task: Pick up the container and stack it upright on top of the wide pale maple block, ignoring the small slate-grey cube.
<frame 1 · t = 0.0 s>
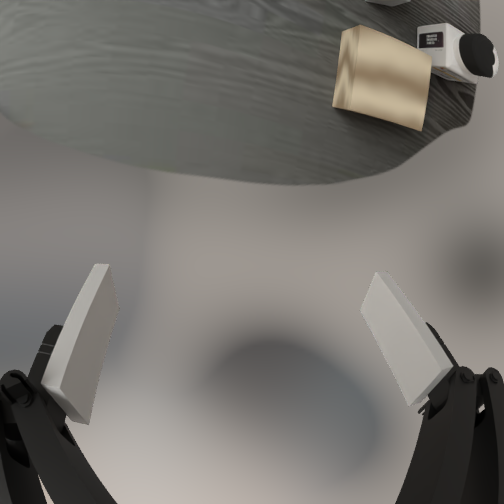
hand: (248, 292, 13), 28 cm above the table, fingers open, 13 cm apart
container: (432, 53, 29), on the table
maple block: (373, 78, 32), on the table
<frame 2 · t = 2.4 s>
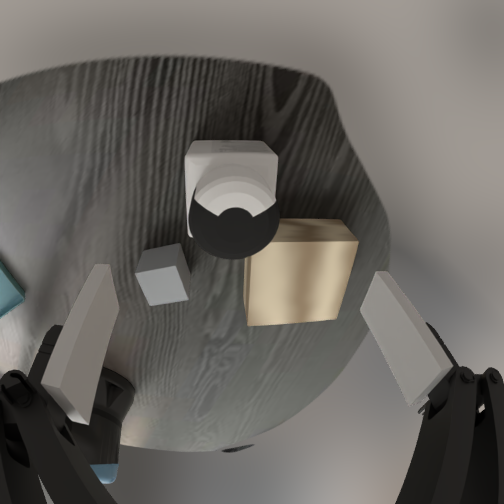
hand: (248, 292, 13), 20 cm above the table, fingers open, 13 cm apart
container: (227, 173, 30), on the table
slate cube: (167, 262, 35), on the table
maple block: (289, 258, 37), on the table
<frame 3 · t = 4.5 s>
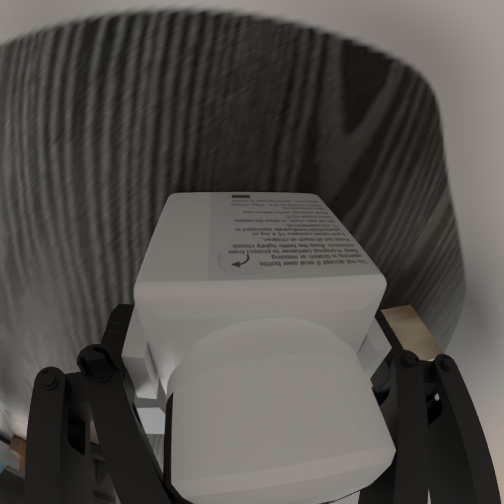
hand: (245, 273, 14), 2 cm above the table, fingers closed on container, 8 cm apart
container: (242, 253, 16), on the table, touching gripper
wooden block: (28, 444, 39), on the table
slate cube: (148, 371, 21), on the table
maple block: (331, 359, 23), on the table
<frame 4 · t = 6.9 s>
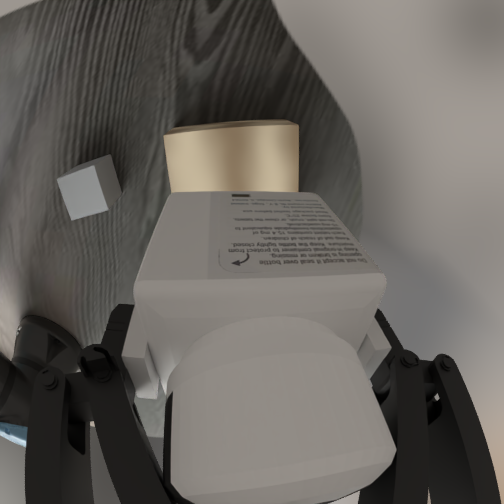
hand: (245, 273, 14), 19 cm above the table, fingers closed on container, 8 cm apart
container: (242, 252, 16), point 17 cm above the table, touching gripper
slate cube: (98, 179, 29), on the table
maple block: (232, 173, 31), on the table
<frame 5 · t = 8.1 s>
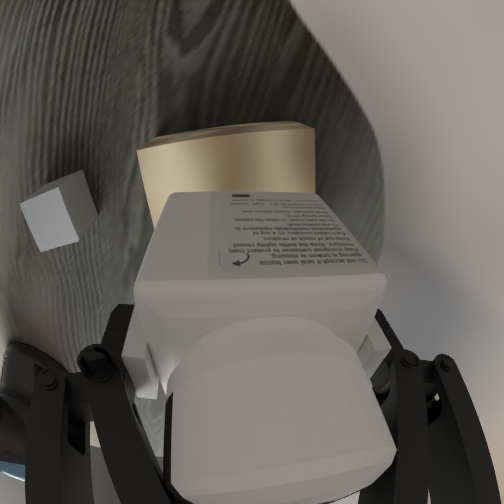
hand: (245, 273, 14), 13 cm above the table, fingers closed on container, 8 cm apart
container: (242, 252, 16), point 11 cm above the table, touching gripper
slate cube: (71, 199, 23), on the table
maple block: (230, 190, 25), on the table
when the fingers open (9 cm above the table, at t = 9.2 s): container drops 2 cm, resting on maple block.
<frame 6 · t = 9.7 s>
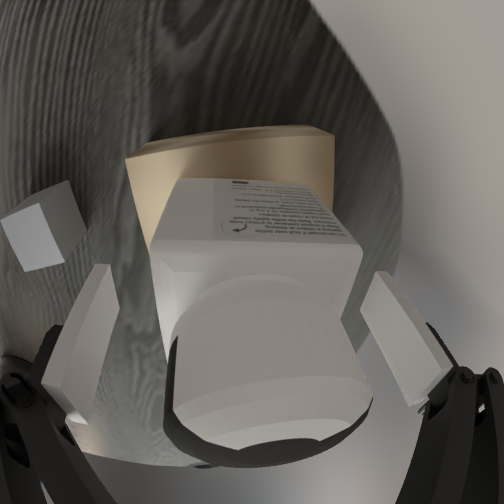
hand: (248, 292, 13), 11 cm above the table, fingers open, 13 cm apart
container: (238, 235, 18), point 5 cm above the table, touching maple block
slate cube: (57, 212, 20), on the table
maple block: (234, 201, 23), on the table, touching container
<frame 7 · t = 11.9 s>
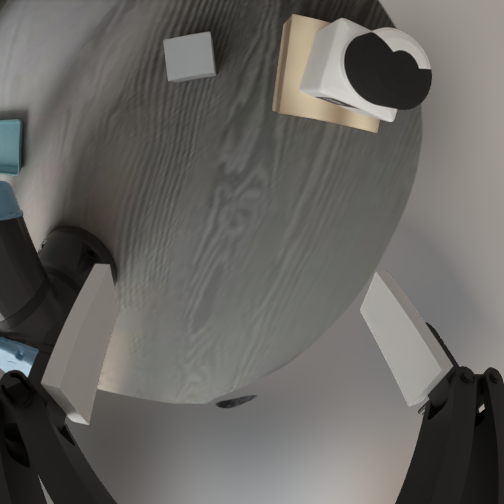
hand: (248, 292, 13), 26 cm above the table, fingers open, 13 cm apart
container: (338, 72, 25), point 5 cm above the table, touching maple block
slate cube: (194, 60, 28), on the table
maple block: (322, 75, 30), on the table, touching container
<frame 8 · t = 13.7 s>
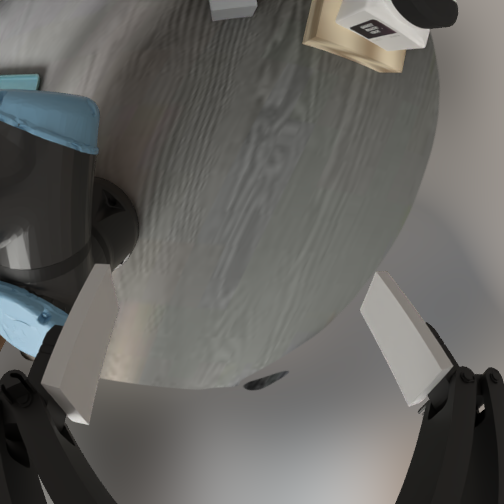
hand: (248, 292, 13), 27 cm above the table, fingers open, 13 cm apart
container: (368, 15, 22), point 5 cm above the table, touching maple block
slate cube: (229, 3, 24), on the table
maple block: (349, 23, 27), on the table, touching container
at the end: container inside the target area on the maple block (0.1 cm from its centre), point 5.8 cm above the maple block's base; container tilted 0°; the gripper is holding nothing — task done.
